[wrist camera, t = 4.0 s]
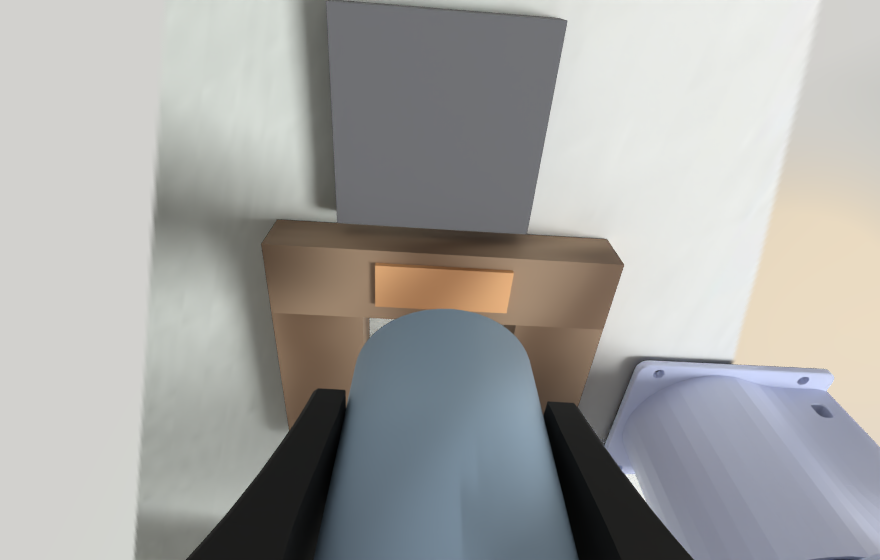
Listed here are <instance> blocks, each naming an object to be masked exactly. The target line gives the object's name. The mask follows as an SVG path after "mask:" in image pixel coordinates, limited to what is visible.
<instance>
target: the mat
mask: <svg viewBox="0 0 880 560" xmlns="http://www.w3.org/2000/svg"><path fill="white" fill-rule="evenodd" d="M326 9H327V29H328V48H329V68H330V88H331V108H332V127H333V147H334V167H335V187H336V207H337V223H345V224H362V225H378V226H395V227H412V228H428V229H445V230H462V231H478V232H495V233H511V234H527V231H528V225H529V220H530V215H531V210H532V204H533V199H534V194H535V189H536V183H537V178H538V173H539V168H540V162H541V157H542V152H543V147H544V141H545V136H546V131H547V126H548V120H549V115H550V110H551V105H552V99H553V94H554V89H555V84H556V78H557V73H558V68H559V63H560V57H561V52H562V47H563V42H564V36H565V31H566V26H567V20H564V19H560V18H550V17H537V16H525V15H513V14H501V13H489V12H476V11H464V10H452V9H440V8H427V7H415V6H403V5H391V4H378V3H366V2H354V1H342V0H329V1H326Z"/></svg>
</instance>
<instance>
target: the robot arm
mask: <svg viewBox="0 0 880 560" xmlns="http://www.w3.org/2000/svg"><path fill="white" fill-rule="evenodd" d="M657 370H659V371H657ZM655 371H657V372H655ZM833 380H834V376H833V375H832V374H831V373H830V372H829V371H828V370H827V369H816V368H815V369H814V368H795V367H775V366H752V365H733V364H712V363H692V362H671V361H650V360H648V361H643V362H640V363H639V364H638V365H637V366H636V367H635V370H634V372H633V375H632V377H631V380H630V382H629V385H628V387H627V390H626V392H625V395H624V397H623V400H622V403H621V405H620V408H619V410H618V413H617V415H616V418H615V420H614V423H613V425H612V428H611V430H610V433H609V435H608V438H607V440H606V443H605V445H603V444H602V442H601V441H600V439H599V438H598V436H597V435H596V434H595V432H594V431H593V429H592V428H591V426H590V425H589V423H588V422H587V420H586V419H585V417H584V416H583V414H582V413H581V412H580V410H579V409H578V407H577V406H576V405H575V404H574V403H567V402H550V401H548V402H547V405H546V408H545V412H544V415H543V417H544V421H545V425H546V429H547V433H548V437H549V441H550V445H551V449H552V453H553V457H554V461H555V465H556V469H557V473H558V477H559V481H560V485H561V490H562V494H563V498H564V502H565V506H566V510H567V514H568V518H569V522H570V526H571V530H572V534H573V538H574V542H575V546H576V550H577V554H578V558H579V560H880V447H879V446H878V445H877V444H876V443H875V441H874V440H872V438H871V437H870V436H869V435H868V434H867V433H866V432H865V431H864V430H863V429H862V428H861V427H860V426H859V425H858V424H857V423H856V422H855V420H854V419H853V418H852V417H851V416H849V414H848V413H847V412H846V411H845V410H844V409H843V408H842V407H841V406H840V405H839V404H838V403H837V402H836V401H835V399H833V397H832V396H831V395H830V394H829V393H828V392H827V389H828V388H829V386H830V385H831V384H832V382H833ZM345 411H346V391H345V390H339V389H322V388H318V389H316V390H315V391H313V393H312V395H311V397H310V398H309V400H308V402H307V404H306V405H305V407H304V409H303V410H302V412H301V413H300V415H299V417H298V418H297V420H296V421H295V423H294V425H293V426H292V427H291V429H290V430H289V432H288V433H287V435H286V436H285V438H284V439H283V441H282V442H281V444H280V445H279V446H278V448H277V449H276V451H275V452H274V453H273V455H272V456H271V458H270V459H269V460H268V462H267V463H266V464H265V466H264V467H263V469H262V470H261V471H260V473H259V474H258V475H257V477H256V478H255V479H254V480H253V482H252V483H251V484H250V485H249V487H248V488H247V489H246V490H245V492H244V493H243V494H242V495H241V497H240V498H239V499H238V500H237V502H236V503H235V504H234V505H233V507H232V508H231V509H230V510H229V512H228V513H227V514H226V515H225V516H224V518H223V519H222V520H221V521H220V522H219V523H218V525H217V526H216V527H215V528H214V529H213V530H212V531H211V533H210V534H209V535H208V536H207V537H206V538H205V539H204V540H203V542H202V543H201V544H200V545H199V546H198V547H197V548H196V549H195V550H194V551H193V552H192V554H191V555H190V556H189V557H188V558H187V559H186V560H314V555H315V550H316V546H317V541H318V536H319V532H320V527H321V522H322V518H323V513H324V508H325V504H326V499H327V495H328V490H329V485H330V481H331V476H332V471H333V467H334V462H335V457H336V453H337V448H338V444H339V439H340V435H341V430H342V425H343V421H344V416H345ZM625 474H635V475H636V477H637V480H638V482H639V485H640V487H641V489H642V492H643V494H644V497H645V499H646V502H647V503H646V502H645V500H644V499H643V498H642V497H641V495H640V494H639V493H638V491H637V490H636V489H635V487H634V486H633V485H632V483H631V482H630V481H629V479H628V478H627V477H626V475H625Z"/></svg>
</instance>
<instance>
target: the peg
mask: <svg viewBox="0 0 880 560" xmlns="http://www.w3.org/2000/svg"><path fill="white" fill-rule="evenodd" d="M314 560H579V558H578V554H577V550H576V546H575V542H574V538H573V534H572V530H571V526H570V522H569V518H568V514H567V510H566V506H565V502H564V498H563V494H562V490H561V485H560V481H559V477H558V473H557V469H556V465H555V461H554V457H553V453H552V449H551V445H550V441H549V437H548V433H547V429H546V425H545V421H544V417H543V413H542V409H541V405H540V401H539V397H538V392H537V388H536V384H535V380H534V376H533V372H532V368H531V364H530V360H529V357H528V355H527V352H526V350H525V349H524V347H523V345H522V344H521V342H520V341H519V340H518V339H517V338H516V336H515V335H514V334H513V333H511V332H510V331H509V330H508V329H507V328H505V327H504V326H502V325H501V324H499V323H498V322H496V321H494V320H492V319H490V318H488V317H485V316H482V315H480V314H477V313H473V312H469V311H464V310H456V309H431V310H423V311H419V312H414V313H411V314H408V315H404V316H402V317H399V318H397V319H395V320H393V321H391V322H389V323H388V324H386V325H384V326H383V327H381V328H380V329H379V330H378V331H376V332H375V333H374V334H373V335H372V336H371V337H370V338H369V339H368V340H367V342H366V343H365V344H364V346H363V347H362V349H361V351H360V353H359V355H358V358H357V361H356V365H355V369H354V374H353V378H352V383H351V388H350V392H349V397H348V402H347V406H346V411H345V416H344V421H343V425H342V430H341V435H340V439H339V444H338V448H337V453H336V457H335V462H334V467H333V471H332V476H331V481H330V485H329V490H328V495H327V499H326V504H325V508H324V513H323V518H322V522H321V527H320V532H319V536H318V541H317V546H316V550H315V555H314Z"/></svg>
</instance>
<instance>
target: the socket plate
mask: <svg viewBox="0 0 880 560" xmlns="http://www.w3.org/2000/svg"><path fill="white" fill-rule="evenodd" d="M261 246H262V253H263V259H264V266H265V273H266V279H267V286H268V293H269V299H270V306H271V313H272V319H273V326H274V333H275V339H276V346H277V353H278V359H279V366H280V373H281V379H282V386H283V393H284V399H285V406H286V413H287V419H288V426H289V430H290V429H291V427H292V426H293V425H294V423H295V421H296V420H297V418H298V417H299V415H300V413H301V412H302V410H303V409H304V407H305V405H306V404H307V402H308V400H309V398H310V397H311V395H312V393H313V391H315V390H316V389H318V388H322V389H339V390H345V391H346V406H347V402H348V397H349V392H350V388H351V383H352V378H353V374H354V369H355V365H356V361H357V358H358V355H359V353H360V351H361V349H362V347H363V346H364V344H365V343H366V342H367V340H368V339H369V338H370V333H369V318H383V319H397V318H399V317H402V316H404V315H408V314H411V313H414V312H419V311H423V310H431V309H456V310H464V311H469V312H473V313H477V314H480V315H482V316H485V317H488V318H490V319H492V320H494V321H496V322H498V323H499V324H501V325H504V327H505V328H507V329H508V330H509V331H510V332H511V333H513V334H514V335H515V336H516V338H517V339H518V340H519V341H520V342H521V344H522V345H523V347H524V349H525V350H526V352H527V355H528V357H529V360H530V364H531V368H532V372H533V376H534V380H535V384H536V388H537V392H538V397H539V401H540V405H541V409H542V413H543V415H544V412H545V408H546V405H547V402H548V401H550V402H567V403H574V404H575V405H576V406H577V407H578V405H579V402H580V399H581V396H582V392H583V389H584V386H585V383H586V380H587V377H588V374H589V371H590V368H591V365H592V362H593V359H594V356H595V353H596V350H597V347H598V344H599V341H600V337H601V334H602V331H603V328H604V325H605V322H606V319H607V316H608V313H609V310H610V307H611V304H612V301H613V298H614V295H615V292H616V289H617V286H618V282H619V279H620V276H621V273H622V270H623V267H624V264H623V262H622V261H621V259H620V258H619V256H618V255H617V253H616V252H615V250H614V249H613V247H612V246H611V244H610V243H609V241H608V240H607V239H592V238H576V237H559V236H543V235H526V234H509V233H493V232H476V231H459V230H443V229H426V228H409V227H393V226H376V225H359V224H343V223H326V222H310V221H293V220H277V221H276V222H275V224H274V225H273V227H272V228H271V230H270V231H269V233H268V234H267V236H266V237H265V239H264V241H263V242H262V244H261Z"/></svg>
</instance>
